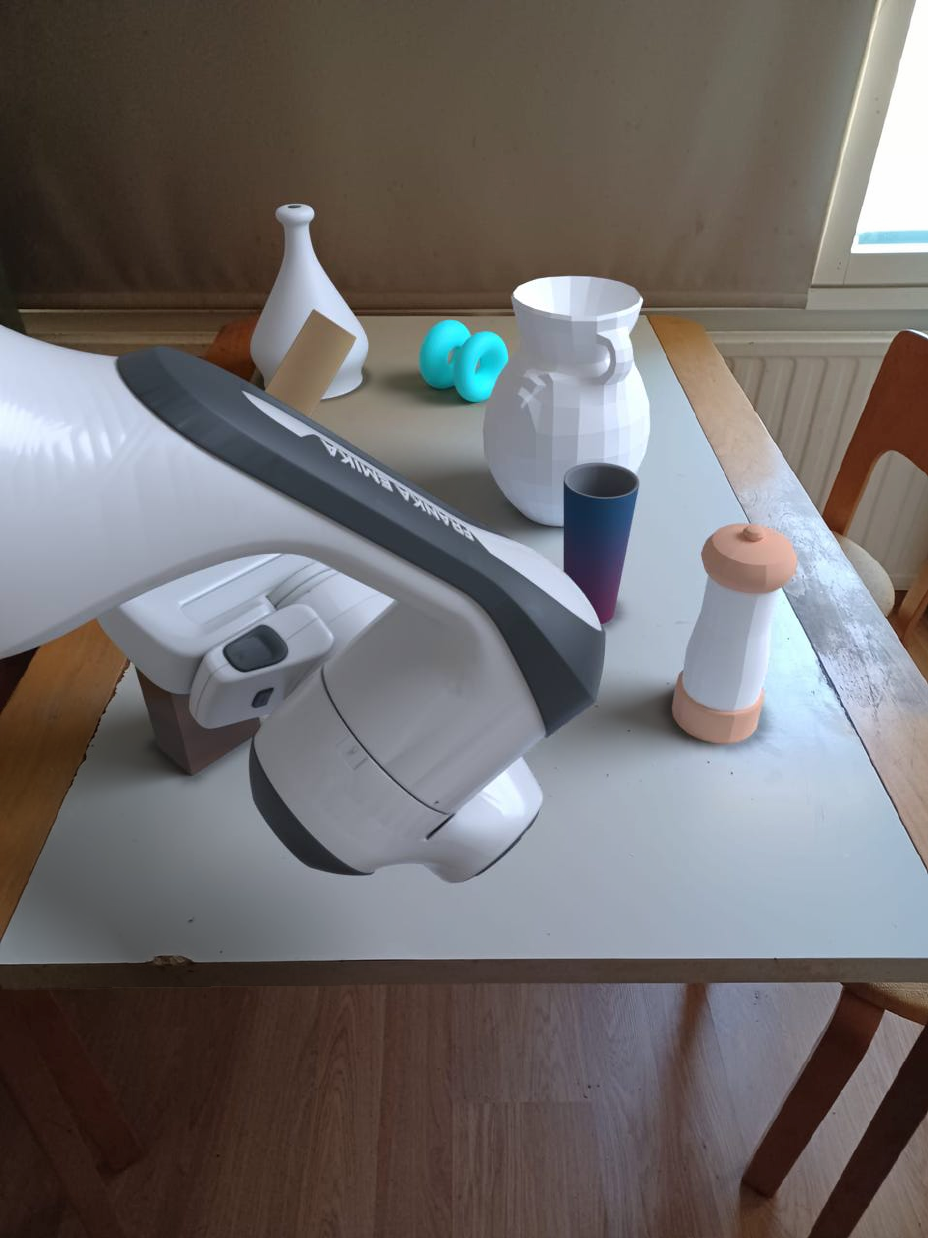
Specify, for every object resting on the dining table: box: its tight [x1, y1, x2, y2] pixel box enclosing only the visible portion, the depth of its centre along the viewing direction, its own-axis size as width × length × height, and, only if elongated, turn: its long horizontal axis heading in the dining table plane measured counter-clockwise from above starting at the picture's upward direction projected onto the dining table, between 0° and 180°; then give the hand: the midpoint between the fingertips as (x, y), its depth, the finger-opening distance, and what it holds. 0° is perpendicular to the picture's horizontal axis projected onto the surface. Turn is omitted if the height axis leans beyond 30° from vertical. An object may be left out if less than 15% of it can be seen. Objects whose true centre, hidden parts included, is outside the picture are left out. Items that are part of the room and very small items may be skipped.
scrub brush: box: [264, 309, 356, 419], centre depth 55 cm, size 5×15×5 cm
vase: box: [249, 203, 369, 400], centre depth 131 cm, size 17×17×25 cm
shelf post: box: [133, 664, 262, 777], centre depth 69 cm, size 7×5×26 cm
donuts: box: [418, 319, 509, 403], centre depth 131 cm, size 10×10×10 cm
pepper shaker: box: [671, 522, 798, 745], centre depth 73 cm, size 7×7×19 cm
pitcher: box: [482, 275, 651, 528], centre depth 100 cm, size 19×18×25 cm
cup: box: [563, 462, 640, 625], centre depth 86 cm, size 7×7×15 cm
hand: (191, 468), depth 56 cm, fingers closed on scrub brush, 5 cm apart
